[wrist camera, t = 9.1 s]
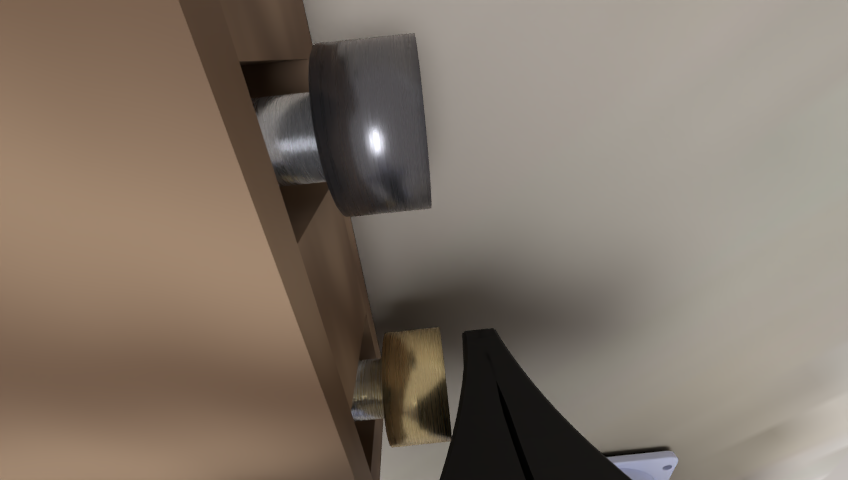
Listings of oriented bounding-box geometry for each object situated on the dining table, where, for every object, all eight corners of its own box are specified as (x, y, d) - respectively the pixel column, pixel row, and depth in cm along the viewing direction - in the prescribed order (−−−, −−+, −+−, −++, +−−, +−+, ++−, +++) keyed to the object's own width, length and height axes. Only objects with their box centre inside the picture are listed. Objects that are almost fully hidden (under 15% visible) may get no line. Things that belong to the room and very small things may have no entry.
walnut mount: (385, 377, 15) (375, 536, 10) (206, 396, 15) (108, 564, 10) (300, -12, 8) (133, -119, 3) (-31, 22, 8) (-710, -27, 3)
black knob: (425, 178, 9) (435, 236, 6) (112, 211, 9) (-24, 284, 6) (412, 37, 8) (416, 25, 5) (32, 77, 8) (-201, 91, 5)
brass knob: (443, 372, 13) (454, 464, 10) (222, 395, 13) (169, 494, 10) (436, 306, 12) (447, 392, 9) (184, 332, 12) (108, 428, 9)
